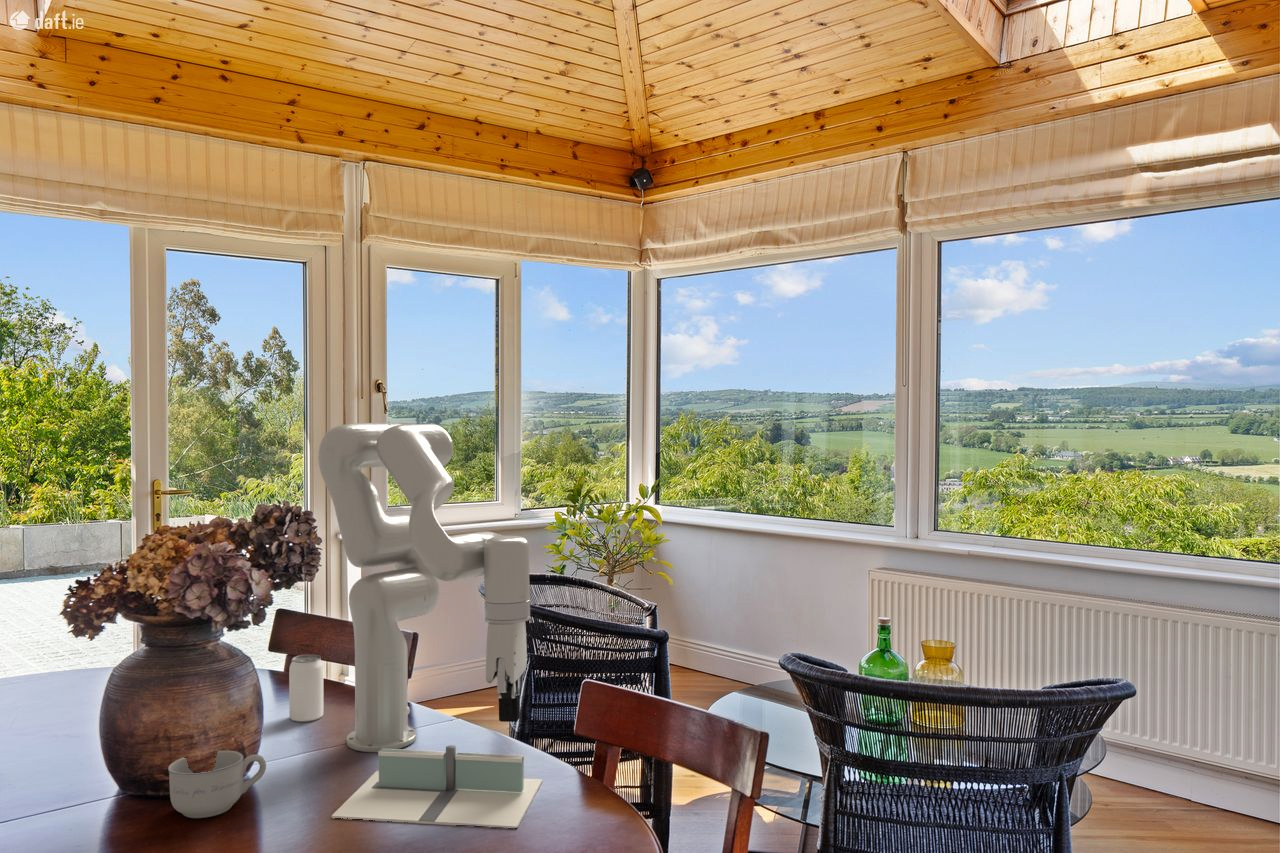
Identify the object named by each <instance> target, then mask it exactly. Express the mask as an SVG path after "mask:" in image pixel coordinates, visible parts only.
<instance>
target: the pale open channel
mask: <svg viewBox="0 0 1280 853" xmlns="http://www.w3.org/2000/svg"><path fill="white" fill-rule="evenodd" d="M455 759H456V789H470V790H488V791H507V792H522V791H523V789H524V777H525V775H524V773H525V772H524V769H525V766H524V761H525V755H522V754H521V755H520V754H503V753H501V754H499V753H483V752H482V753H481V752H480V753H479V752H463V751H462V752H461V751H460V752H459V751H458V752H456V756H455Z"/></svg>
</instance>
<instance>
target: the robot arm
mask: <svg viewBox="0 0 1280 853" xmlns="http://www.w3.org/2000/svg"><path fill="white" fill-rule="evenodd" d="M453 452H454V445H453V440H452V437H451V436H450V434H449V433H448V431H447V430H445V429H444V428H443V426H440V425H438V424H435V423H409V422H358V423H357V422H355V423H354V422H353V423H346V424H340V425H337V426H335V427H332V428H331V429H329V430H328V431H327V432H326V433H325V434H324V435H323V437H322V439H321V442H320V444H319V448H318V459H317V460H318V466H319V471H320V475H321V477H322V480H323V482H324V484H325V486H326V488H327V491H328V492H329V495H330V498H331V500H332V503H333V507H334V511H335V516H336V520H337V523H338V528H339V532H340V536H341V540H342V543H343V544H342V545H343V547H344V551H345V555H346V557H347V559H348V561H349V563H350V564H352V566H354V567H355V568H360V569H361V568H362V569H367V568H375V567H376V568H377V567H382V566H387V565H388V566H389V565H393V564H394V566H395V568H396V569H393V570H392V569H391V570H387V571H380V572H376V573H371V574H367V575H365V576H363V577H361V578H359V579H358V580H357V581H356V582H355V583H354V584H353V585H352V586H351V589H350V591H349V593H348V606H349V612H350V616H351V620H352V626H353V636H354V637H353V638H354V712H355V713H354V719H355V721H354V722H355V723H354V724H355V725H354V726H355V727H354V729H355V730H353V731H351V732H350V733H349V734H348V735H347V736H346V745H347V746H348V747H349V749H351V750H352V749H353V750H355V751H359V752H365V753H378V752H379V751H380V750H381V749H402V748H403V749H404V748H405V747H409V745H411V744H413V743H414V742H415V741H416V739H417V731H416V730H415V728H413V727H412V726H409V725H408V720H409V719H408V715H409V714H410V712H411V709H410V707H409V706H408V699H409V697H408V696H409V694H408V687H409V686H408V682H409V681H408V643H407V640H406V638H405V636H404V634H403V632H402V630H401V629H400V627H399V625H398V622H401V621H404V620H409V619H413V618H417V617H421V616H425V615H428V614H429V613H430V612H432V611H433V610H434V609H435V608H436V607H437V605H438V603H439V599H440V585H439V580H440V581H442V582H450V583H451V582H457V581H461V580H466V579H471V578H477V577H483V584H484V585H483V587H484V588H483V590H484V594H483V595H484V598H483V599H484V621H485V622H486V623H488V624H487V634H486V645H485V646H486V647H485V649H486V650H485V654H486V655H485V681H486V683H487V684H491V683H493V681H495V679H497V682H496V683H497V684H496V687H497V688H496V692H497V693H498V694H497V696H498V721H499V722H502V723H509V722H510V723H516V722H518V720H519V719H520V718H521V704H520V702H521V701H520V698H521V696H520V690H521V689H520V686H521V685H520V684H521V682H520V680H521V676H522V674H523V673H525V671H526V669H527V663H528V662H527V661H528V660H527V659H528V656H527V655H528V652H527V651H528V650H527V649H528V648H527V629H526V622H527V621H529V620H530V619H531V597H530V594H531V592H530V591H531V589H530V587H531V586H530V585H531V584H530V548H529V547H530V545H529V542H528V540H527V539H526V538H525V537H523V536H520V535H503V534H499V533H496V532H492V531H488V530H487V531H475V532H469V533H460V534H456V535H448V534H447V532H446V531H445V530H444V528H443V526H442V525H441V524H440V522H439V521H438V519H437V517H436V514H435V511H436V510H438V509H439V508H441V507H442V506H443V505H444V504H445V503H446V502H447V501H448V500H449V499H450V497H451V496H452V495H453V492H454V489H455V484H454V483H455V482H454V480H453V478H452V477H451V475H450V474H449V473H448V471H447V469H446V468H445V467H444V466H446V465H448V463H449V462H450V460H452V457H453V455H454V453H453ZM377 467H378V468H380V467H381V468H382V467H385V468H386V470H387V471H388V472H389V475H390V476H391V478H392V479H393V481H394V482H395V483H396V485H397V486H398V487H399V490H400V491H401V492H402V494H403V496H404V497H405V498H406V500H407V502H408V504H410V506H411V508H410V513H409V514H408V513H392V514H386V513H385V511H384V508H383V504H382V502H381V496H380V493H379V491H378V490H377V487H376V486H375V484H374V483H373V482H372V480H370V478H369V477H368V476H366V475H365V474H364V473H363V472H362V469H365V468H377Z"/></svg>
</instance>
